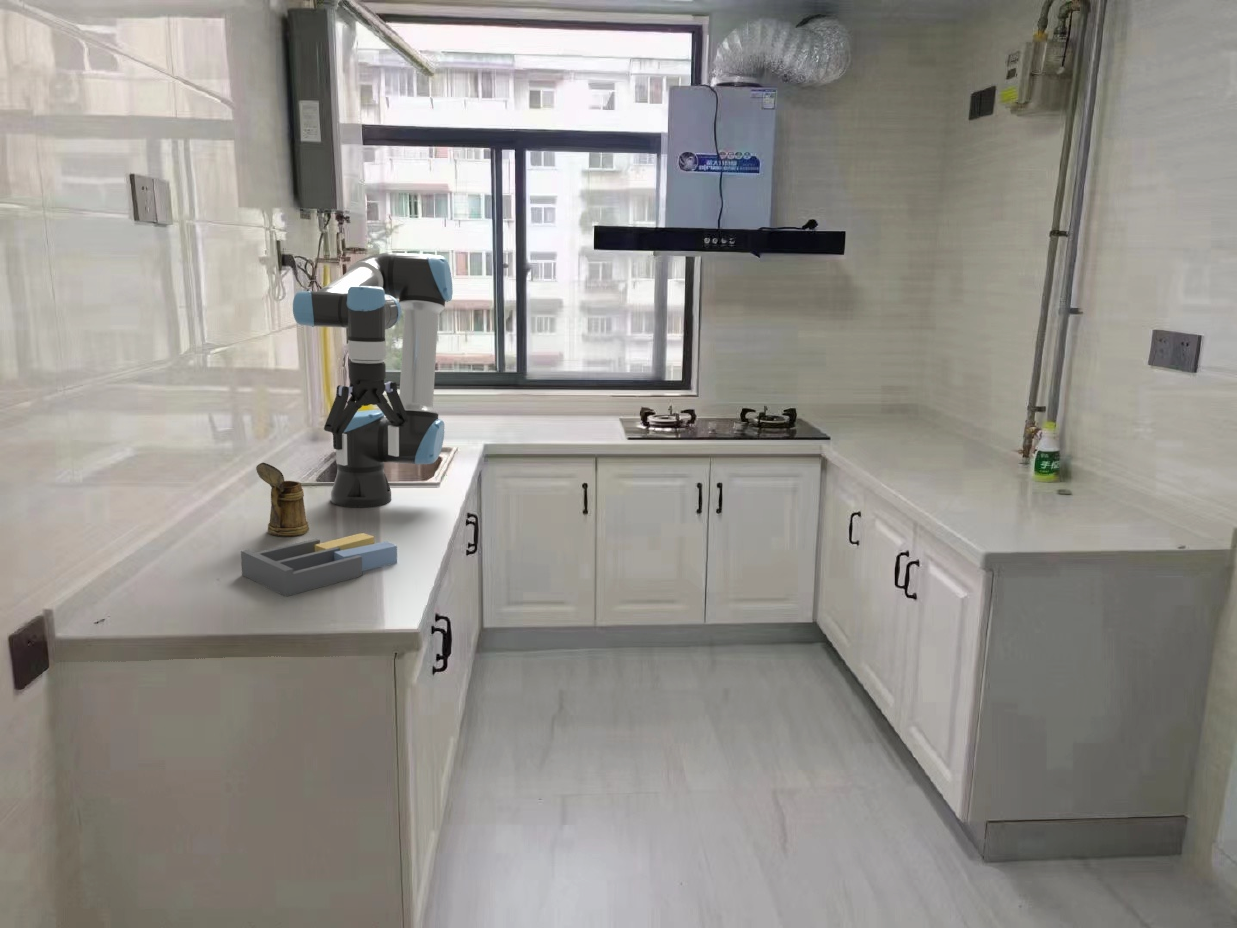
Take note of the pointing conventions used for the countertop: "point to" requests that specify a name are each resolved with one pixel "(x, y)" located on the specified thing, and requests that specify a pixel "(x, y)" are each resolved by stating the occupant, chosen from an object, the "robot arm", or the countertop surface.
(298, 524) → the wooden mug
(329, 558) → the comb rack
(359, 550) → the bar blue
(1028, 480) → the countertop surface
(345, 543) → the bar ochre
